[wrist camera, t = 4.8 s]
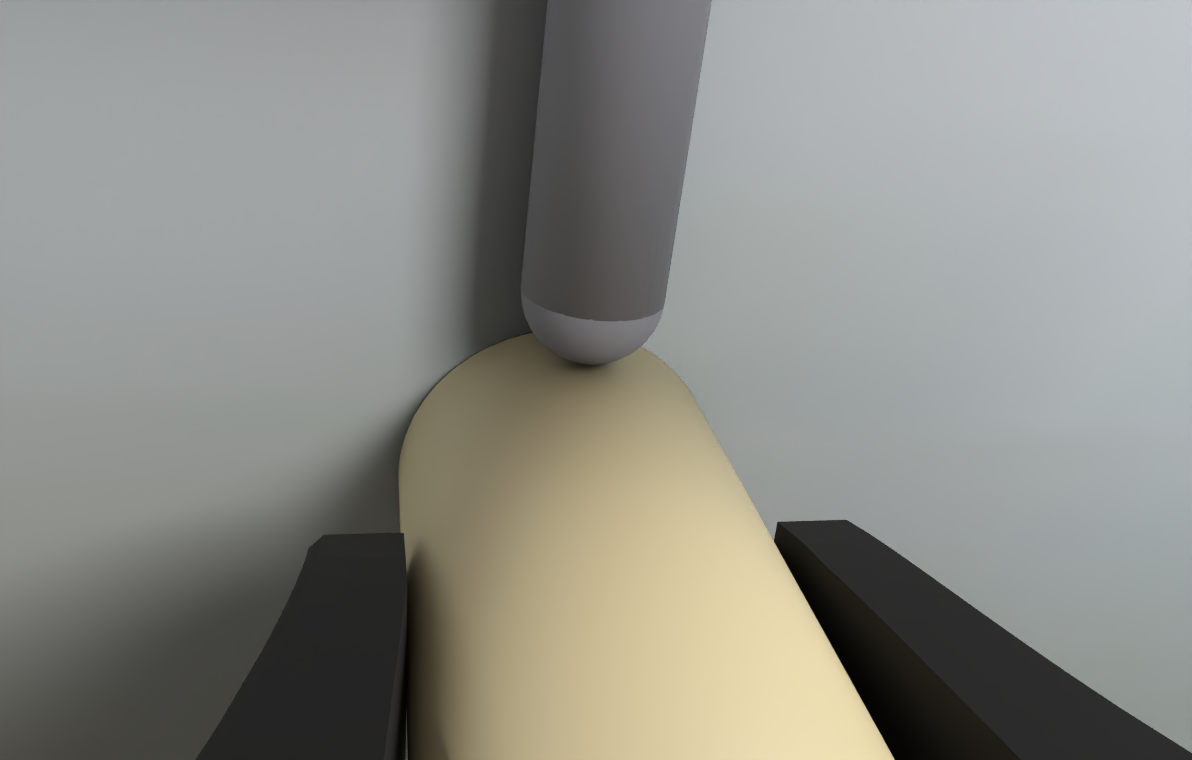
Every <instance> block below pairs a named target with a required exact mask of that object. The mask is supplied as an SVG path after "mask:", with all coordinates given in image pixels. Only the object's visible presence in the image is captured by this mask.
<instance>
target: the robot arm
mask: <svg viewBox="0 0 1192 760" xmlns="http://www.w3.org/2000/svg"><path fill="white" fill-rule="evenodd" d="M774 543H775V545H776V546H777V548H778V550H779V552H780V554H781V555H782V557H783V559H784V561H785V563H786V565H787V566H788V568H789V570H790V572H791V574H792V575H793V577H794V579H795V581H796V583H797V584H798V586H799V588H800V590H801V592H802V593H803V595H804V597H805V599H806V601H807V602H808V604H809V606H810V608H811V610H812V611H813V613H814V615H815V617H816V619H817V620H818V622H819V624H820V626H821V628H822V629H823V631H824V633H825V635H826V637H827V638H828V640H829V642H830V644H831V646H832V647H833V649H834V651H835V653H836V655H837V656H838V658H839V660H840V662H841V664H842V666H843V667H844V669H845V671H846V673H847V675H848V676H849V678H850V680H851V682H852V684H853V685H854V687H855V689H856V691H857V693H858V694H859V696H860V698H861V700H862V702H863V703H864V705H865V707H866V709H867V711H868V712H869V714H870V716H871V718H872V720H873V721H874V723H875V725H876V727H877V729H878V730H879V732H880V734H881V736H882V738H883V739H884V741H885V743H886V745H887V747H888V748H889V750H890V752H891V754H892V756H893V758H894V759H895V760H1192V753H1191V752H1189V751H1187V750H1186V749H1184V748H1183V747H1181V746H1179V745H1178V744H1176V743H1175V742H1173V741H1172V740H1170V739H1168V738H1167V737H1165V736H1164V735H1162V734H1160V733H1159V732H1157V731H1156V730H1154V729H1153V728H1151V727H1149V726H1148V725H1146V724H1145V723H1143V722H1141V721H1140V720H1138V719H1137V718H1135V717H1134V716H1132V715H1130V714H1129V713H1127V712H1126V711H1124V710H1122V709H1121V708H1119V707H1118V706H1116V705H1115V704H1113V703H1112V702H1110V701H1109V700H1107V699H1106V698H1104V697H1103V696H1101V695H1100V694H1098V693H1097V692H1095V691H1094V690H1092V689H1091V688H1089V687H1088V686H1086V685H1085V684H1083V683H1082V682H1080V681H1079V680H1077V679H1076V678H1074V677H1073V676H1071V675H1070V674H1068V673H1067V672H1066V671H1064V670H1063V669H1061V668H1060V667H1058V666H1057V665H1055V664H1054V663H1052V662H1051V661H1049V660H1048V659H1047V658H1045V657H1044V656H1042V655H1041V654H1039V653H1038V652H1036V651H1035V650H1034V649H1032V648H1031V647H1029V646H1028V645H1026V644H1025V643H1024V642H1022V641H1021V640H1019V639H1018V638H1016V637H1015V636H1014V635H1012V634H1011V633H1009V632H1008V631H1006V630H1005V629H1004V628H1002V627H1001V626H999V625H998V624H997V623H995V622H994V621H992V620H991V619H990V618H988V617H987V616H985V615H984V614H982V613H981V612H980V611H978V610H977V609H975V608H974V607H973V606H971V605H970V604H968V603H967V602H966V601H964V600H963V599H961V598H960V597H959V596H957V595H956V594H954V593H953V592H952V591H950V590H949V589H948V588H946V587H945V586H943V585H942V584H941V583H939V582H938V581H936V580H935V579H934V578H932V577H931V576H929V575H928V574H927V573H925V572H924V571H922V570H921V569H920V568H918V567H917V566H915V565H914V564H912V563H911V562H910V561H908V560H907V559H905V558H904V557H902V556H901V555H900V554H898V553H897V552H895V551H894V550H892V549H891V548H889V547H888V546H887V545H885V544H884V543H882V542H881V541H879V540H878V539H876V538H875V537H873V536H872V535H870V534H869V533H867V532H865V531H864V530H862V529H861V528H859V527H857V526H856V525H854V524H852V523H851V522H849V521H847V520H826V521H791V522H778V523H777V528H776V533H775V539H774ZM406 659H407V570H406V554H405V541H404V533H376V534H341V535H323V536H322V537H321V538H320V539H319V540H318V541H316V542H315V543H314V544H313V545H312V546H311V547H310V548H309V550H308V553H307V556H306V559H305V562H304V565H303V568H302V570H301V572H300V575H299V577H298V580H297V582H296V584H295V587H294V589H293V591H292V593H291V596H290V598H289V600H288V602H287V604H286V606H285V608H284V610H283V612H282V614H281V616H280V618H279V620H278V622H277V624H276V626H275V628H274V629H273V631H272V633H271V635H270V637H269V639H268V641H267V643H266V645H265V647H264V649H263V650H262V652H261V654H260V656H259V657H258V659H257V661H256V662H255V664H254V666H253V667H252V669H251V671H250V673H249V674H248V676H247V678H246V679H245V681H244V683H243V684H242V686H241V688H240V689H239V691H238V693H237V695H236V696H235V698H234V700H233V701H232V703H231V705H230V706H229V708H228V710H227V711H226V713H225V715H224V717H223V718H222V720H221V722H220V723H219V725H218V726H217V728H216V730H215V731H214V733H213V734H212V736H211V737H210V739H209V741H208V742H207V744H206V745H205V747H204V748H203V750H202V751H201V752H200V754H199V755H198V757H197V758H196V760H405V748H406Z"/></svg>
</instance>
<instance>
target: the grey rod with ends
mask: <svg viewBox="0 0 1192 760" xmlns="http://www.w3.org/2000/svg"><path fill="white" fill-rule="evenodd" d="M711 1H712V0H548V2H547V12H546V23H545V34H544V44H543V55H542V66H541V76H540V87H539V97H538V108H537V119H536V129H535V140H534V151H533V161H532V172H531V183H530V193H529V204H528V215H527V225H526V236H525V246H524V257H523V268H522V278H521V303H522V308H523V312H524V316H525V318H526V320H527V322H528V324H529V327H530V328H531V330H532V332H533V333H529V334H525V335H522V336H518V337H514V338H510V339H508V340H505V341H503V342H500V343H498V344H495V345H493V346H490V347H488V348H486V349H484V350H482V351H481V352H479V353H477V354H475V355H473V356H472V357H470V358H468V359H467V360H466V361H464V362H463V363H461V364H460V365H459V366H457V367H456V368H454V369H453V370H452V371H451V372H450V373H449V374H448V375H446V376H445V377H444V378H443V379H442V380H441V381H440V382H439V383H438V384H437V385H436V386H435V387H434V389H433V390H432V391H431V392H430V393H429V395H428V396H427V397H426V398H425V399H424V401H423V402H422V404H421V406H420V407H419V409H418V410H417V412H416V414H415V415H414V417H413V419H412V421H411V424H410V426H409V428H408V430H407V433H406V435H405V439H404V442H403V446H402V449H401V453H400V461H399V469H398V476H399V506H400V533H404V541H405V554H406V570H407V659H406V711H407V740H408V760H895V759H894V758H893V756H892V754H891V752H890V750H889V748H888V747H887V745H886V743H885V741H884V739H883V738H882V736H881V734H880V732H879V730H878V729H877V727H876V725H875V723H874V721H873V720H872V718H871V716H870V714H869V712H868V711H867V709H866V707H865V705H864V703H863V702H862V700H861V698H860V696H859V694H858V693H857V691H856V689H855V687H854V685H853V684H852V682H851V680H850V678H849V676H848V675H847V673H846V671H845V669H844V667H843V666H842V664H841V662H840V660H839V658H838V656H837V655H836V653H835V651H834V649H833V647H832V646H831V644H830V642H829V640H828V638H827V637H826V635H825V633H824V631H823V629H822V628H821V626H820V624H819V622H818V620H817V619H816V617H815V615H814V613H813V611H812V610H811V608H810V606H809V604H808V602H807V601H806V599H805V597H804V595H803V593H802V592H801V590H800V588H799V586H798V584H797V583H796V581H795V579H794V577H793V575H792V574H791V572H790V570H789V568H788V566H787V565H786V563H785V561H784V559H783V557H782V555H781V554H780V552H779V550H778V548H777V546H776V545H775V543H774V541H773V539H772V537H771V536H770V534H769V532H768V530H767V528H766V527H765V525H764V523H763V521H762V519H761V518H760V516H759V514H758V512H757V510H756V509H755V507H754V505H753V503H752V501H751V500H750V498H749V496H748V494H747V492H746V491H745V489H744V487H743V485H742V483H741V482H740V480H739V478H738V476H737V474H736V473H735V471H734V469H733V467H732V465H731V464H730V462H729V460H728V458H727V456H726V454H725V453H724V451H723V449H722V447H721V445H720V444H719V442H718V440H717V438H716V436H715V435H714V433H713V431H712V429H711V427H710V426H709V424H708V422H707V420H706V418H705V417H704V415H703V413H702V411H701V409H700V408H699V406H698V404H697V402H696V400H695V399H694V397H693V395H692V393H691V391H690V390H689V389H688V387H687V386H686V385H685V383H684V382H683V381H682V379H681V378H680V377H679V376H678V375H677V374H676V373H675V372H674V371H673V370H672V369H671V368H670V367H669V366H668V365H667V364H666V363H665V362H663V361H662V360H661V359H659V358H658V357H657V356H655V355H654V354H653V353H651V352H649V351H648V350H646V349H644V348H642V347H641V346H642V345H643V344H644V343H645V342H646V340H647V339H648V338H649V337H650V335H651V334H652V333H653V332H654V330H655V328H656V326H657V324H658V322H659V320H660V318H661V314H662V310H663V307H664V303H665V296H666V290H667V283H668V277H669V271H670V264H671V258H672V251H673V245H674V239H675V232H676V226H677V219H678V213H679V206H680V200H681V194H682V187H683V181H684V174H685V168H686V162H687V155H688V149H689V142H690V136H691V129H692V123H693V117H694V110H695V104H696V97H697V91H698V84H699V78H700V72H701V65H702V59H703V52H704V46H705V40H706V33H707V27H708V20H709V14H710V7H711Z"/></svg>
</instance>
